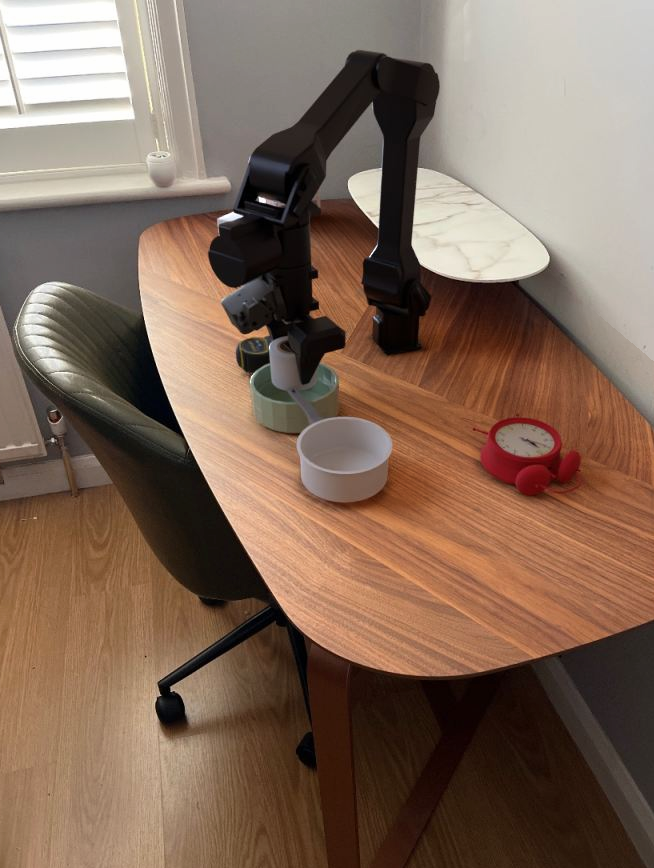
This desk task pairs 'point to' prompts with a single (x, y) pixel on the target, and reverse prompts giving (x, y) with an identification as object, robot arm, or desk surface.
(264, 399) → the bowl
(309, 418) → the saucepan
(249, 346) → the tape measure
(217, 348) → the desk surface
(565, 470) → the alarm clock
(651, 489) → the desk surface
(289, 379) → the tape roll
